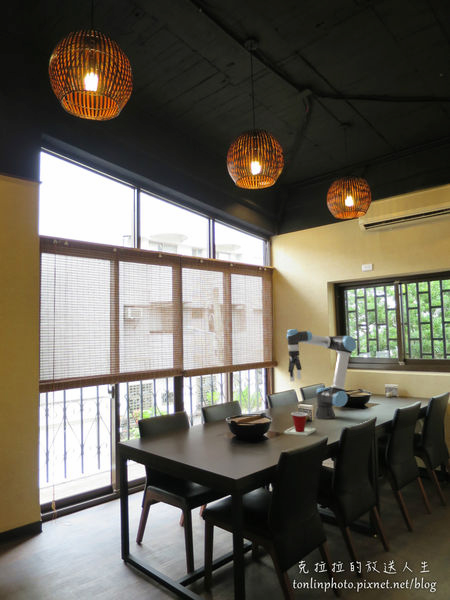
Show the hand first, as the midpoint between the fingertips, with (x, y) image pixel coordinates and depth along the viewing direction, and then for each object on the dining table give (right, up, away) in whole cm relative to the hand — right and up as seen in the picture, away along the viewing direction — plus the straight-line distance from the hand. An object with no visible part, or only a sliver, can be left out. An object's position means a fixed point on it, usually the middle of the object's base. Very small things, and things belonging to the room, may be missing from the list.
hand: (295, 380), depth 305 cm
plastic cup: (0, -31, -19) cm, 37 cm away
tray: (0, -31, -20) cm, 37 cm away
